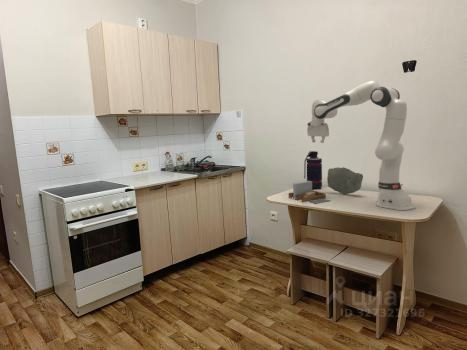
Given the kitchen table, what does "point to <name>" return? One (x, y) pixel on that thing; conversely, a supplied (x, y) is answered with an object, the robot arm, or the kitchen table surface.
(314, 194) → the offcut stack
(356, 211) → the kitchen table surface
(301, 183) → the blue-gray rectangular block
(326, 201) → the mat
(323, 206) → the kitchen table surface
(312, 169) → the grenade
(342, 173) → the rock
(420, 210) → the kitchen table surface
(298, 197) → the rack
